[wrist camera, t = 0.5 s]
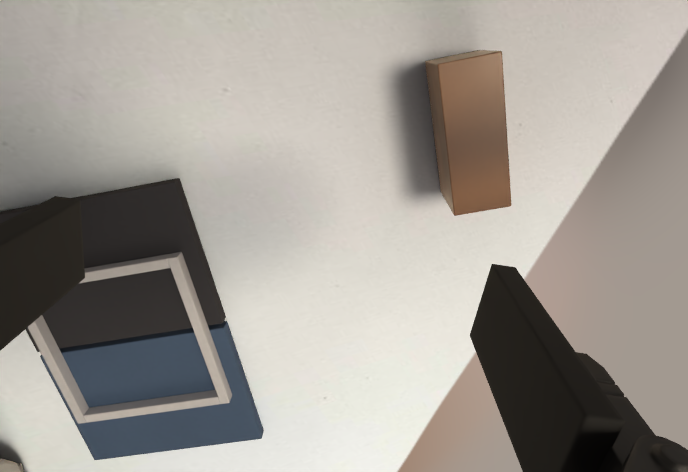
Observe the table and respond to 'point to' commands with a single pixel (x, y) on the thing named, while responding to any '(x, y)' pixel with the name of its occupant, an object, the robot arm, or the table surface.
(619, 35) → the table surface
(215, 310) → the back pads
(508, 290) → the robot arm
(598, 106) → the table surface
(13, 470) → the alarm clock
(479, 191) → the brown rectangular block
